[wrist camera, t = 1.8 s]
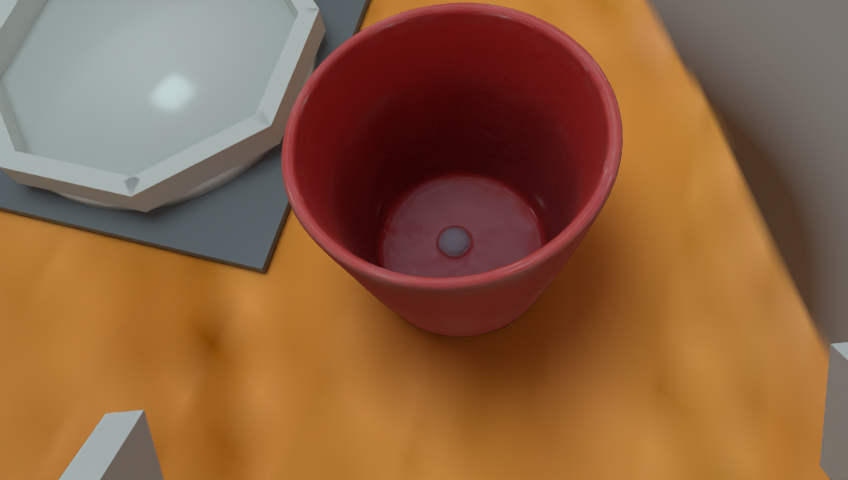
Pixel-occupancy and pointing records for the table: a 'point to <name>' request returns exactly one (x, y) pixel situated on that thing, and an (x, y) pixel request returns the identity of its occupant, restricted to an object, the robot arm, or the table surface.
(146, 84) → the grey octagonal tray
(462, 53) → the flower pot
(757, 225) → the table surface
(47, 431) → the table surface
